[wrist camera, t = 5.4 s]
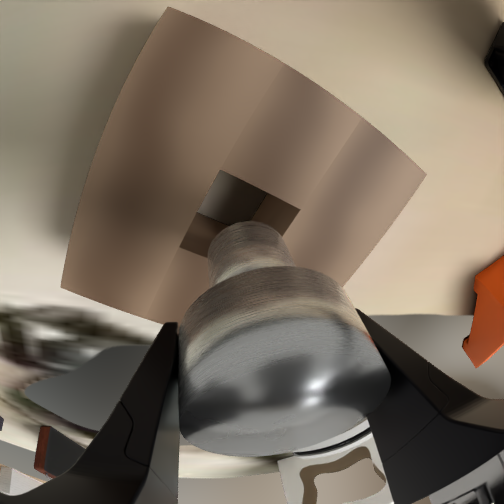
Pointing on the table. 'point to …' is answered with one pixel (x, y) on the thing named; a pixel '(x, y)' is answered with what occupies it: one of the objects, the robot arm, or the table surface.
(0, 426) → the flat rectangular box
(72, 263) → the walnut block
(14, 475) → the grey rectangular block
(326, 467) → the gable box
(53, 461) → the radio
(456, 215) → the table surface
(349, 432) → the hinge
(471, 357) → the tape dispenser
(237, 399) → the steel peg
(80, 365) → the table surface
